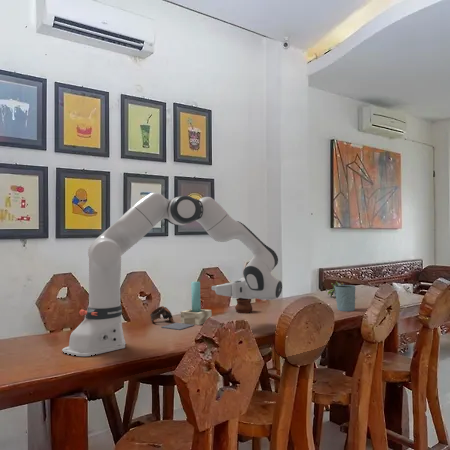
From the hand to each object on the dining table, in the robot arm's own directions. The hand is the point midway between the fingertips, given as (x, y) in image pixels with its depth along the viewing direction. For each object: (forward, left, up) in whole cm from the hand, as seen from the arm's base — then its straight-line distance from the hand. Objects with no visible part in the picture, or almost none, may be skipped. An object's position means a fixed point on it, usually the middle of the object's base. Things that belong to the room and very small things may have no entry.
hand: (218, 286), depth 198 cm
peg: (0, +12, -17) cm, 21 cm away
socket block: (0, +12, -17) cm, 21 cm away
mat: (-12, +13, -17) cm, 24 cm away
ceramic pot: (+32, +6, -17) cm, 37 cm away
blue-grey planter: (+60, -37, -17) cm, 72 cm away
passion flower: (+98, -20, -17) cm, 101 cm away
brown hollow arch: (-7, +26, -17) cm, 32 cm away
